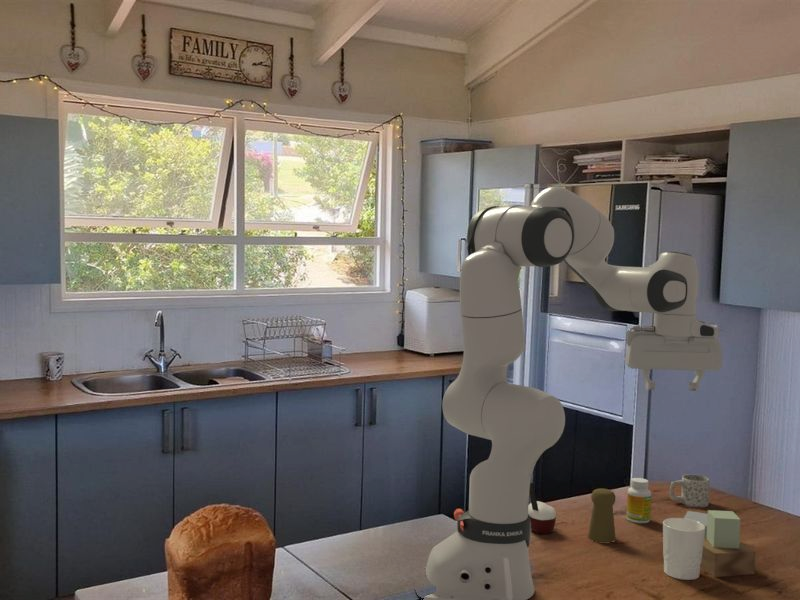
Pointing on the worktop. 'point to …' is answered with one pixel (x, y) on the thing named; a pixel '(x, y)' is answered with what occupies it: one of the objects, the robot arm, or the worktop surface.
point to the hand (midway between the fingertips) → (671, 390)
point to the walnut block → (727, 560)
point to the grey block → (698, 518)
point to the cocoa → (540, 514)
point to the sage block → (723, 529)
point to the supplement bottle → (639, 501)
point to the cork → (602, 516)
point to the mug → (692, 490)
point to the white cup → (682, 547)
